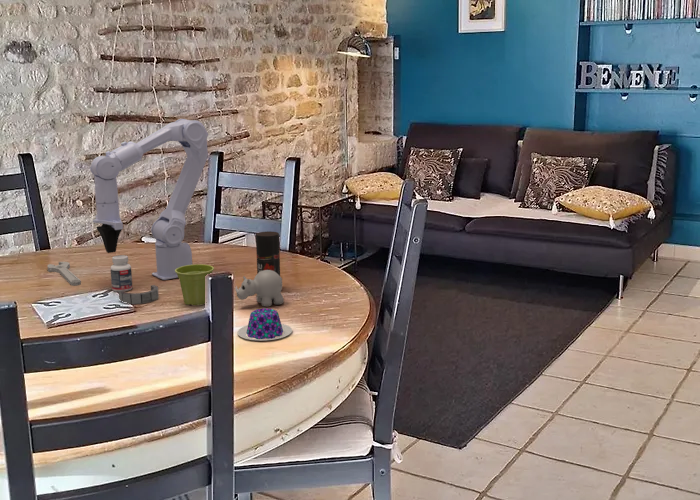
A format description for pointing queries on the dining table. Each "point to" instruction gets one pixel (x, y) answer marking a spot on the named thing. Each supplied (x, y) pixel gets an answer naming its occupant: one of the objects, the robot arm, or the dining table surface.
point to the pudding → (264, 326)
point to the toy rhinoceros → (262, 288)
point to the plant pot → (193, 282)
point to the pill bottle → (121, 274)
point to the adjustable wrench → (65, 272)
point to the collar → (140, 296)
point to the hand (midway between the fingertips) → (111, 252)
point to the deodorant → (268, 251)
